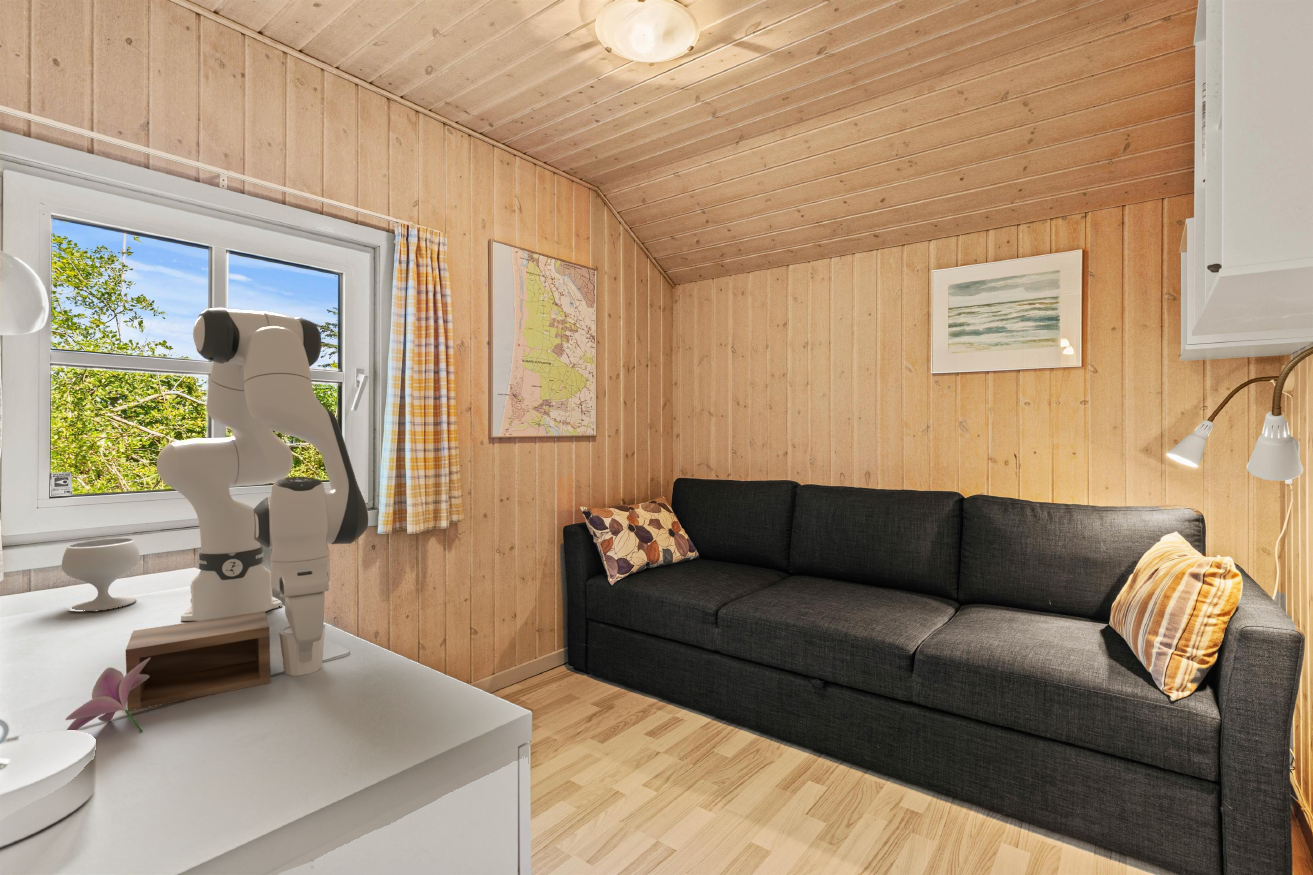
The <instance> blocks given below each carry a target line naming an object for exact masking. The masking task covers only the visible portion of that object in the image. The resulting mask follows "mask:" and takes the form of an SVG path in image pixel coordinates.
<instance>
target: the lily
mask: <svg viewBox="0 0 1313 875" xmlns="http://www.w3.org/2000/svg"><path fill="white" fill-rule="evenodd" d="M149 660H150V658H148V659H146V660H145V661H143V662H142V663H140V664H139V665H138V666H136V667H135V668H134V669H132V670H131V671H130V672H129V673H128V674H127V675H126V674H125V675H124V674H123V673H122V671H120V670H118V669H117V668H115V667H111V666H110V667H107V668H105V669H104V670H103V672H102V673H101V674H100V676H99V677H98V679H97V680H96V682H95V684H94V686H93V688H92V692H91V699H90V700H89V701H87V702H85V703H83V704H82V705H81V706H79V707H78V708H77V709H75V710H74V711H72V712H71V713H70V714H69V715H68V716H67V717H66V718H65V721H70V720H73V721H72V723H70V725H69V726H68V727H67V729H66V730H77V731H79V730H80V729H81V728H82V727H83V726H86V725H87V724H88V723H89V722H90V721H92V720H94V719H95V718H97V720H99V721H101V722H104V723H110V722H111V721H112V720H113V718H114V716H115V714H116V712H120V711H122V712H124V713H125V714H126V715H127V716H128V717H129V718H130V720H131V721H132V722H133V723H134V725H135V726H136V729H138V731H139V732H140V733H142V732H144V730H143V729H142V727H141V726H140V724H139V723H138V722H137V720H136V719H135V717H134V716H133V715H132V714H131V713H130V711H128V708H127V707H126V705H127V698H128V694H129V691H130V690H132V689H133V688H135V687H136V686H138V685H139V684H141V683H142V682H144V681H145V680H147V679H148V678H149V675H145V674H139V673H140V671H141V670H142V669H143V667H144V666H145V665H146V663H147V662H148V661H149ZM138 674H139V675H138ZM109 721H110V722H109Z"/></svg>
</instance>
